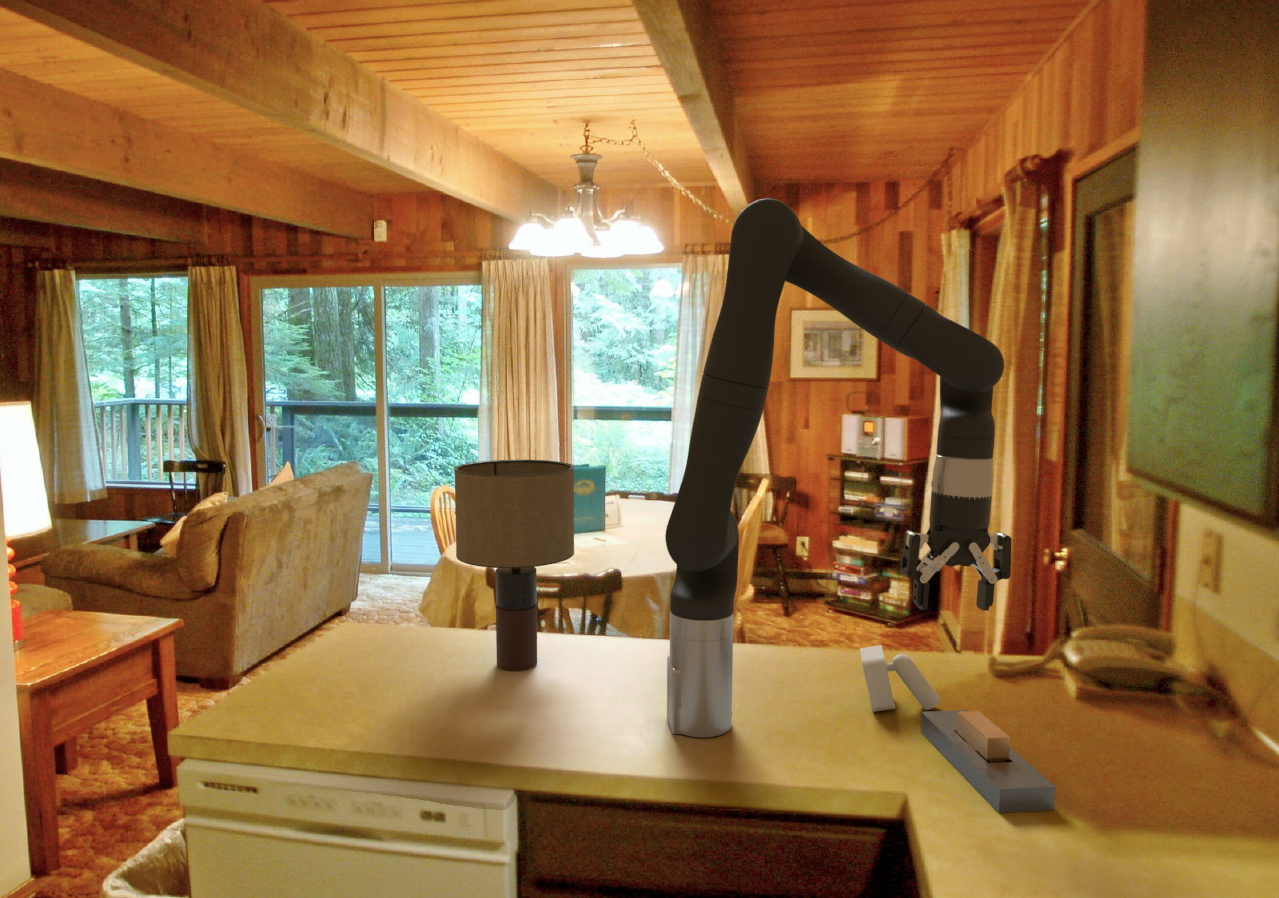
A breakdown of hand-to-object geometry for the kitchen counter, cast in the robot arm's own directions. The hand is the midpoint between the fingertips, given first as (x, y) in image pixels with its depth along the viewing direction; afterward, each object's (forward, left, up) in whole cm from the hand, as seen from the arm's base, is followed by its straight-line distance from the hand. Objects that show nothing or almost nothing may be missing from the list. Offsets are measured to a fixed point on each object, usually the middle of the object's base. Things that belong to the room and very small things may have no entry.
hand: (952, 608), depth 114 cm
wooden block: (+3, -4, -20) cm, 21 cm away
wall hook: (0, +16, -21) cm, 26 cm away
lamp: (-60, +39, -21) cm, 74 cm away
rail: (+3, -4, -20) cm, 21 cm away
